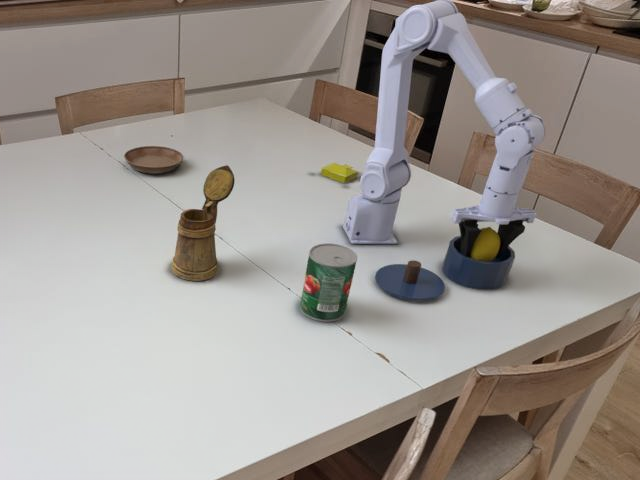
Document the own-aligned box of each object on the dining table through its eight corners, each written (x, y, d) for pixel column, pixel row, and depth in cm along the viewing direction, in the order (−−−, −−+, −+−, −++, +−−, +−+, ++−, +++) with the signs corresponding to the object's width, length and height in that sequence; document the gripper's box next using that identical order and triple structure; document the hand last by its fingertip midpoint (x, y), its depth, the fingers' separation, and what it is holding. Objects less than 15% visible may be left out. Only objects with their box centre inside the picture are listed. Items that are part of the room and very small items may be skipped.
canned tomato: (291, 302, 120) (299, 247, 113) (328, 294, 122) (338, 239, 116) (316, 326, 114) (327, 269, 107) (354, 316, 117) (367, 260, 110)
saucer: (147, 151, 178) (147, 141, 176) (194, 164, 171) (194, 153, 169) (112, 168, 168) (111, 157, 166) (160, 182, 161) (160, 171, 160)
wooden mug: (240, 259, 132) (249, 171, 121) (199, 286, 124) (204, 194, 113) (203, 245, 137) (208, 158, 126) (161, 270, 128) (163, 180, 117)
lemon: (494, 274, 125) (508, 235, 120) (463, 271, 126) (476, 232, 121) (489, 260, 130) (502, 222, 125) (459, 257, 130) (471, 219, 125)
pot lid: (385, 303, 120) (391, 281, 117) (366, 269, 130) (371, 247, 127) (453, 303, 121) (461, 280, 118) (429, 268, 130) (435, 247, 127)
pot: (455, 290, 124) (464, 263, 121) (433, 259, 133) (440, 234, 130) (515, 289, 125) (526, 263, 121) (489, 259, 134) (498, 234, 130)
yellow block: (312, 174, 167) (313, 163, 165) (334, 165, 172) (336, 154, 170) (345, 186, 161) (347, 175, 159) (367, 177, 166) (369, 165, 164)
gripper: (471, 197, 115) (449, 267, 123) (554, 197, 115) (527, 266, 124) (455, 181, 120) (435, 248, 129) (535, 181, 121) (509, 248, 129)
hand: (479, 256), depth 127 cm, fingers closed on lemon, 5 cm apart
